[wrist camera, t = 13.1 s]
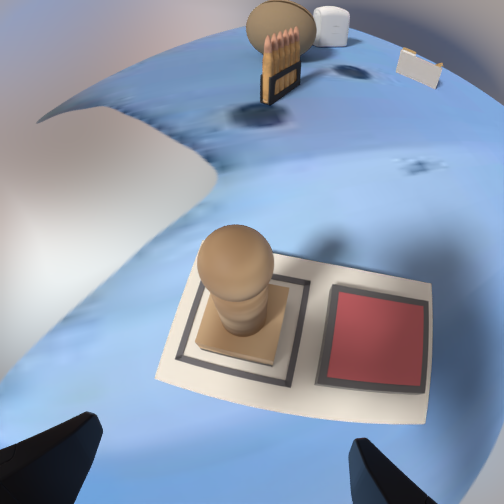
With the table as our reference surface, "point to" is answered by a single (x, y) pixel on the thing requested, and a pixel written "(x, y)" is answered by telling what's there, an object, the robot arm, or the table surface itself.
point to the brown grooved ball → (280, 23)
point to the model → (418, 68)
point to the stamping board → (291, 350)
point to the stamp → (240, 296)
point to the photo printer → (331, 26)
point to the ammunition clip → (280, 65)
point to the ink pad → (374, 342)
